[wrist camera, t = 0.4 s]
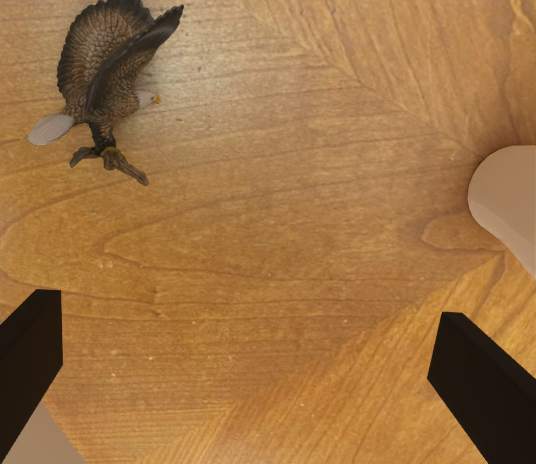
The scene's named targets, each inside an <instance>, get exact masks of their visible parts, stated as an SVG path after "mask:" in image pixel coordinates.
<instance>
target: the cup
mask: <svg viewBox="0 0 536 464" xmlns="http://www.w3.org/2000/svg"><path fill="white" fill-rule="evenodd" d="M468 204H469V209H470V211H471V214H472V216H473V218H474V219H475V220H476V221H477V222H478V224H479V225H480V226H482V227H483V228H484V229H486V230H487V231H489V232H490V233H491V234H493V235H494V236H496V237H497V238H498V239H500V240H501V241H502V242H503V243H504V244H505V245H506V246H507V247H508V249H509V250H510V251H511V252H512V253H513V254H514V255H515V257H516V258H517V259H518V260H519V262H520V263H521V264H522V265H523V267H524V268H525V269H526V271H527V272H528V273H529V274H530V275H531V276H532V277H533V278H534V280H535V281H536V145H519V146H508V147H505V148H502V149H499V150H497V151H496V152H494V153H492V154H491V155H489V156H488V157H487V158H486V159H485V160H484V161H483V162H482V163H481V164H480V165H479V166H478V168H477V169H476V171H475V172H474V174H473V176H472V179H471V181H470V184H469V188H468Z"/></svg>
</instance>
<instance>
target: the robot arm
mask: <svg viewBox="0 0 536 464" xmlns="http://www.w3.org/2000/svg"><path fill="white" fill-rule="evenodd" d="M62 365H63V348H62V309H61V290H44V289H36V290H35V291H34V292H33V293H32V294H31V295H30V296H29V297H28V298H27V299H26V300H25V301H24V302H23V303H22V304H21V305H20V306H19V307H18V308H17V309H16V310H15V311H14V312H13V313H12V314H11V315H10V316H9V317H8V318H7V319H6V320H5V321H4V322H3V323H2V324H1V325H0V464H2V462H3V460H4V459H5V457H6V455H7V454H8V452H9V451H10V449H11V447H12V446H13V444H14V443H15V441H16V439H17V438H18V436H19V435H20V433H21V431H22V430H23V428H24V426H25V425H26V423H27V422H28V420H29V418H30V417H31V415H32V414H33V412H34V410H35V409H36V407H37V405H38V404H39V402H40V401H41V399H42V397H43V396H44V394H45V393H46V391H47V389H48V388H49V386H50V385H51V383H52V381H53V380H54V378H55V377H56V375H57V373H58V372H59V370H60V368H61V367H62ZM427 379H428V381H429V382H430V383H431V385H432V386H433V387H434V389H435V390H436V392H437V393H438V394H439V396H440V397H441V399H442V400H443V401H444V403H445V404H446V406H447V407H448V408H449V410H450V411H451V412H452V414H453V415H454V417H455V418H456V419H457V421H458V422H459V424H460V425H461V426H462V428H463V429H464V431H465V432H466V433H467V435H468V436H469V437H470V439H471V440H472V442H473V443H474V444H475V446H476V447H477V449H478V450H479V451H480V453H481V454H482V456H483V457H484V458H485V460H486V461H487V462H488V464H536V379H535V378H534V377H533V376H532V375H531V374H529V373H528V372H527V371H526V370H525V369H524V368H523V367H522V366H521V365H519V364H518V363H517V362H516V361H515V360H514V359H513V358H512V357H511V356H509V355H508V354H507V353H506V352H505V351H504V350H503V349H502V348H501V347H500V346H498V345H497V344H496V343H495V342H494V341H493V340H492V339H491V338H490V337H488V336H487V335H486V334H485V333H484V332H483V331H482V330H481V329H480V328H478V327H477V326H476V325H475V324H474V323H473V322H472V321H471V320H470V319H468V318H467V317H466V316H465V315H464V314H463V313H457V312H442V314H441V318H440V323H439V327H438V332H437V336H436V341H435V345H434V349H433V354H432V358H431V363H430V367H429V372H428V376H427Z"/></svg>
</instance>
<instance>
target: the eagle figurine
mask: <svg viewBox="0 0 536 464" xmlns="http://www.w3.org/2000/svg"><path fill="white" fill-rule="evenodd" d="M183 8H184V5H183V4H182V5H180V6H178V7H177V6H174V7H172V8H171V9H170V10H167V11H166V12H165V13H164V15H163V16H162V15H160V16H159V17H158V18H157V19H156V20H154V18H152V17H150V10H149V9H148V8H143V3H142V1H141V0H108V1H107V2H106V3H105V2H104V1H103V0H99V1H98V2H97V4H96V5H88V7H87V8H86V9H84V10H83V11H82V12H81V14H80V15H77V16H76V18H75V21H74V22H72V23H71V26H70V31H68V34H67V36H66V39H65V42H66V44H64V46H63V50H62V52H61V59H60V60H59V63H58V68H57V71H58V73H57V78H58V82H57V86H58V87H59V91H60V92H61V93H62V95H63V97H64V98H65V99H66V103H67V104H66V105H65V107H64V108H63V109H62V110H61V112H59V113H55V114H50V115H45V116H43V117H42V118H40V119H39V120H38V121H37V122H36V124H35V125H34V127H33V129H32V130H31V131H30V132H29V136H28V138H27V140H28V141H29V142H30V143H31V144H32V145H47V144H50V143H52V142H54V141H56V140H58V139H59V138H61V137H62V136H63V135H65V134H66V133H67V132H68V131H69V130H70V129H71V128H72V127H74V126H76V125H79V124H82V123H88V124H89V127H90V128H91V131H92V134H93V136H92V137H93V139H94V142H95V147H92V148H88V147H80V148H79V150H78V151H77V152H75V153H74V154H73V156H74V157H73V158H72V159H71V161H70V163H69V164H70V167H71V168H73V167H74V166H75V165H76V164H77V163H78V162H79V161H80V160H82V159H86V158H89V159H92V158H98V157H102V158H103V159H104V168H105V169H106V170H109V171H110V170H114V169H115V168H116V169H118V170H119V171H121V172H123V173H125V174H127V175H129V176H131V177H133V178H135V179H136V180H137V181H138V182H139V183H141V184H142V185H145V186H148V185H149V182H148V179H147V177H146V175H145V174H144V173H143V172H141V171H139V170H137V169H136V168H135V167H133V166H132V165H131V164H128V162H127V160H126V158H125V157H124V156H123V154H122V153H121V152H120V150H118V149H117V148H116V140H115V139H114V137H113V135H112V130H113V124H114V122H115V121H116V120H117V118H120V117H125V116H127V115H129V114H132V113H134V112H135V111H137V110H139V109H141V108H142V107H144V106H146V105H149V104H151V103H154V102H156V103H160V98H159V97H158V96H156V95H155V94H154V93H151V92H149V91H145V90H132V87H133V83H134V81H135V79H136V77H137V75H138V74H139V72H140V71H141V70H142V69H143V68H144V67H145V66H146V65H147V64H148V62H149V61H150V60H151V59H152V57H153V56H154V54H155V52H156V50H157V49H158V47H159V46H160V45H161V44H162V43H164V42H165V41H166V40H167V39H168V38H169V37H170V36H171V34H172V33H173V32H174V31H175V30H176V29H177V27H178V25H179V23H180V20H179V19H180V17H181V15H182V12H183V11H182V10H183Z"/></svg>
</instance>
